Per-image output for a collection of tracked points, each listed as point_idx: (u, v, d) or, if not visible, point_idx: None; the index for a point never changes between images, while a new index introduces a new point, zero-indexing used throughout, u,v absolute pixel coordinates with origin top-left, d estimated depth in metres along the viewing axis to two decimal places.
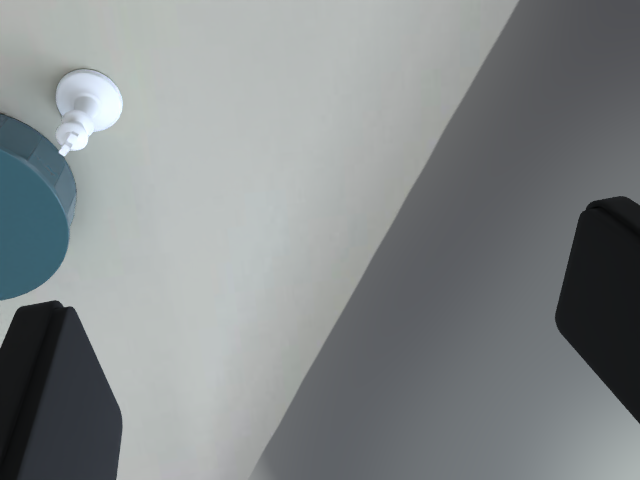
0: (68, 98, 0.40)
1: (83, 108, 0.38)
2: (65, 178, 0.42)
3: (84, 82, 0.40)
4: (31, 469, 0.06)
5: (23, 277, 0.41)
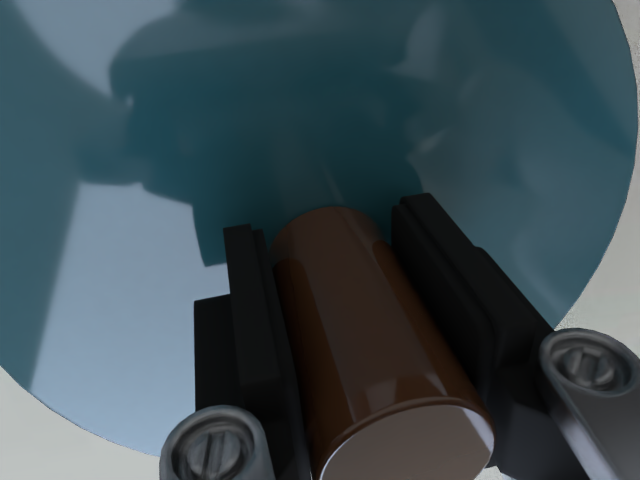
0: None
1: None
2: None
3: None
4: None
5: (101, 384, 0.12)
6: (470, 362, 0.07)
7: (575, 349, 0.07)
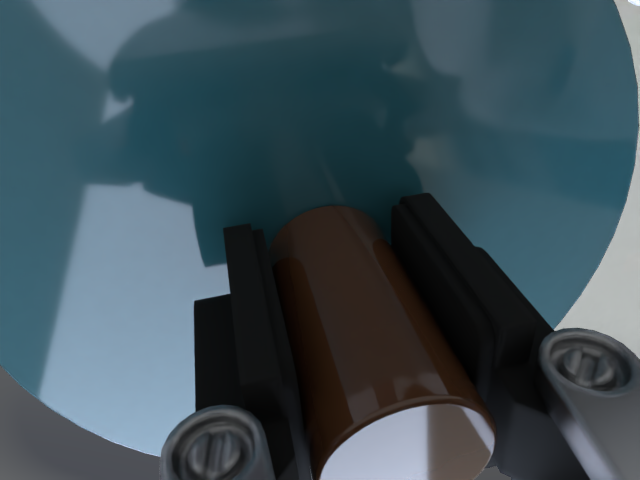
0: None
1: None
2: None
3: None
4: None
5: (101, 384, 0.12)
6: (470, 362, 0.07)
7: (575, 349, 0.07)
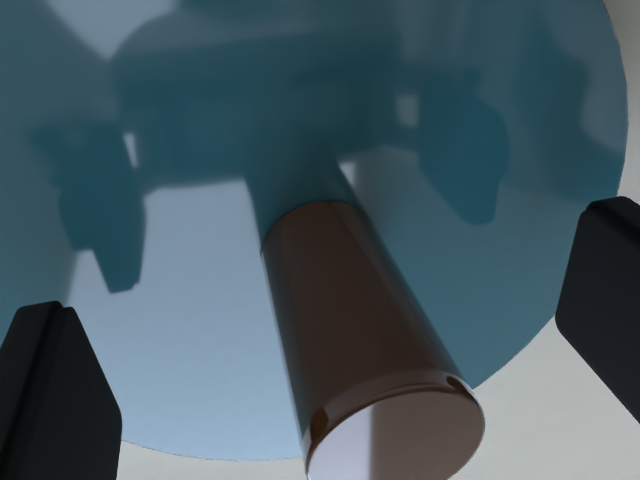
0: None
1: None
2: None
3: None
4: (31, 469, 0.06)
5: None
6: None
7: None
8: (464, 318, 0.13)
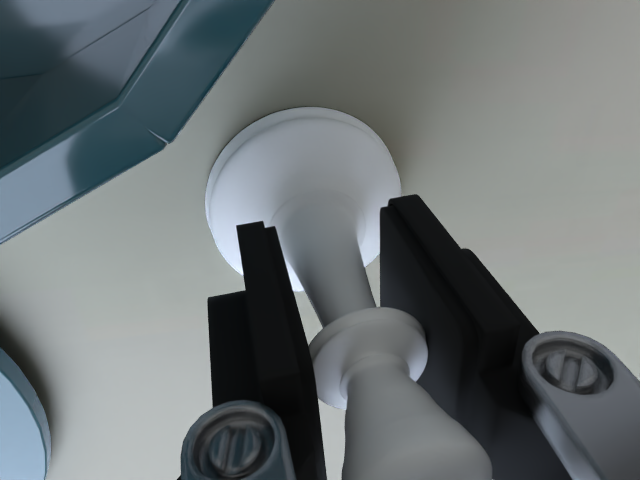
0: (336, 172, 0.12)
1: None
2: None
3: (379, 218, 0.13)
4: None
5: None
6: (454, 365, 0.07)
7: (557, 353, 0.07)
8: None
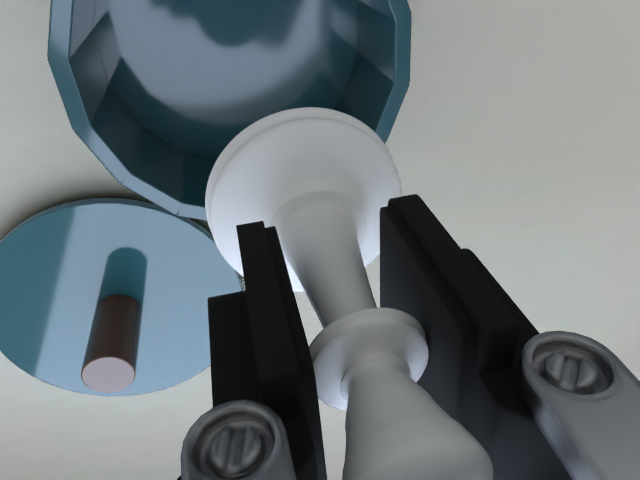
0: (336, 173, 0.12)
1: None
2: None
3: (379, 218, 0.13)
4: None
5: (38, 358, 0.31)
6: (454, 365, 0.07)
7: (557, 353, 0.07)
8: (191, 335, 0.32)
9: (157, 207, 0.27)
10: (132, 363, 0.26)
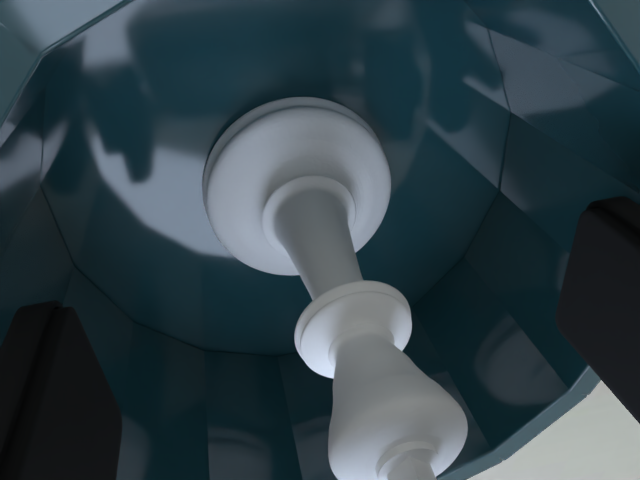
0: (328, 159, 0.12)
1: None
2: None
3: (369, 204, 0.13)
4: (31, 469, 0.06)
5: None
6: None
7: None
8: None
9: None
10: None
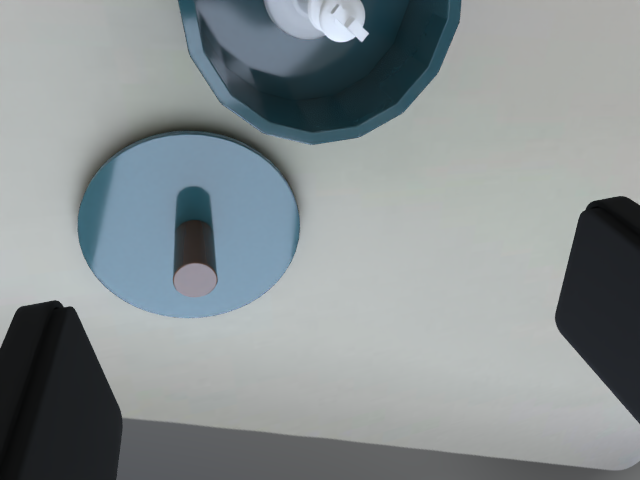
0: None
1: None
2: None
3: None
4: (31, 469, 0.06)
5: (122, 278, 0.35)
6: None
7: None
8: (253, 261, 0.37)
9: (233, 140, 0.32)
10: (215, 271, 0.31)
